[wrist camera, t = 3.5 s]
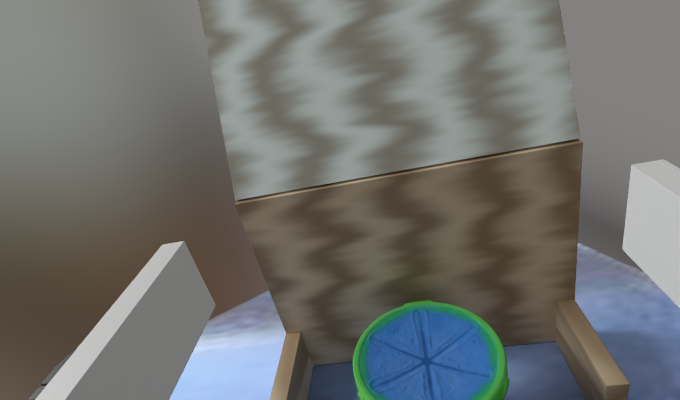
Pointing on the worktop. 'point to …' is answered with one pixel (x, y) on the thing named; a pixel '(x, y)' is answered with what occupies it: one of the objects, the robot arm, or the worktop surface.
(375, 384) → the snack cup
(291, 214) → the tan tall piece
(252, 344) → the worktop surface
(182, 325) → the robot arm
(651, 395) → the worktop surface
